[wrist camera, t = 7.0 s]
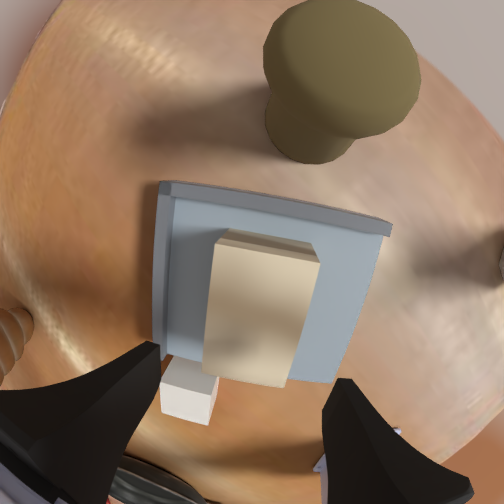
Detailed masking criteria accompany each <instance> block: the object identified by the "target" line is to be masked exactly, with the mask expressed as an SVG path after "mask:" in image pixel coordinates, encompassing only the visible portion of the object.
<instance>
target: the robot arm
mask: <svg viewBox="0 0 504 504" xmlns="http://www.w3.org/2000/svg"><path fill="white" fill-rule="evenodd" d="M160 382H161V357H160V345H159V344H156V343H153V342H149V341H145V342H144V343H142V344H140V345H138V346H137V347H135V348H133V349H132V350H130V351H128V352H127V353H125V354H123V355H122V356H120V357H118V358H116V359H115V360H113V361H111V362H109V363H107V364H105V365H103V366H101V367H99V368H97V369H95V370H93V371H91V372H89V373H87V374H84V375H82V376H79V377H77V378H74V379H71V380H68V381H65V382H61V383H57V384H53V385H49V386H45V387H39V388H33V389H24V390H0V504H106V502H107V499H108V495H109V492H110V488H111V485H112V482H113V479H114V476H115V474H116V471H117V468H118V466H119V463H120V461H121V458H122V456H123V453H124V451H125V449H126V446H127V444H128V442H129V440H130V438H131V436H132V435H133V433H134V431H135V430H136V428H137V426H138V425H139V423H140V421H141V419H142V418H143V416H144V414H145V413H146V411H147V409H148V408H149V406H150V404H151V403H152V401H153V399H154V397H155V394H156V392H157V390H158V387H159V385H160ZM400 433H401V429H400V428H397V429H393V428H392V427H391V426H390V425H389V424H388V423H387V422H386V421H385V420H384V419H383V418H382V416H381V415H380V414H379V413H378V412H377V410H376V409H375V408H374V407H373V406H372V404H371V403H370V402H369V400H368V399H367V398H366V397H365V395H364V394H363V393H362V391H361V390H360V389H359V388H358V386H357V385H356V384H355V382H354V381H353V380H352V379H346V378H338V379H337V381H336V383H335V385H334V387H333V389H332V391H331V393H330V395H329V398H328V400H327V402H326V404H325V406H324V408H323V409H322V435H323V442H324V450H325V453H324V454H323V456H322V457H321V458H320V460H319V461H318V462H317V464H316V465H315V466H314V468H313V471H314V472H320V478H321V496H322V504H465V503H466V502H467V501H469V500H470V499H471V498H472V497H473V495H474V491H473V488H472V486H471V483H470V480H469V478H468V477H465V476H463V475H461V474H458V473H456V472H453V471H451V470H449V469H447V468H445V467H443V466H441V465H439V464H437V463H435V462H434V461H432V460H431V459H429V458H427V457H426V456H425V455H423V454H422V453H420V452H419V451H417V450H416V449H415V448H414V447H412V446H411V445H410V444H409V443H408V442H406V441H405V440H404V439H403V438H402V437H401V436H400V435H399V434H400Z"/></svg>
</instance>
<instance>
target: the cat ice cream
mask: <svg viewBox="0 0 504 504" xmlns="http://www.w3.org/2000/svg"><path fill="white" fill-rule="evenodd" d="M33 330H34V325H33V320H32V317H31V316H30V314H29V313H28V312H27V311H25V310H24V309H21V308H12V309H10V310H8V311H7V310H4V309H1V308H0V386H1V384H2V382H3V379H4V376H5V375H6V374H8V373H9V372H10V371H11V370H12V368H13V366H14V364H15V361H17V360H19V359H20V358H21V356H22V354H23V350H24V345H25V344H26V343H27V342H28V341H29V340H30V338H31V336H32V334H33Z"/></svg>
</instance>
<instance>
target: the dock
mask: <svg viewBox="0 0 504 504" xmlns="http://www.w3.org/2000/svg"><path fill="white" fill-rule="evenodd" d="M392 225H393V224H392V223H389V222H387V221H385V220H383V219H380V218H378V217H374V216H370V215H366V214H361V213H357V212H353V211H349V210H344V209H340V208H335V207H331V206H326V205H322V204H317V203H312V202H307V201H302V200H297V199H292V198H287V197H281V196H276V195H270V194H265V193H259V192H253V191H247V190H241V189H235V188H228V187H222V186H215V185H208V184H201V183H193V182H185V181H177V180H170V181H160V184H159V193H158V202H157V212H156V224H155V237H154V254H153V279H152V336H153V343H156V344H159V345H160V357H161V360H162V361H163V360H164V358H165V356H166V355H167V354H171V355H175V356H178V357H182V358H186V359H190V360H193V361H198V362H202V356H203V345H204V335H205V325H206V315H207V306H208V296H209V288H210V279H211V271H212V263H213V255H214V247H215V243H216V242H217V241H218V240H219V239H220V238H221V237H222V236H223V235H224V234H225V232H226V231H227V230H228V229H229V228H233V229H239V230H244V231H250V232H255V233H261V234H266V235H271V236H277V237H282V238H287V239H293V240H298V241H303V242H308V243H311V244H312V246H313V248H314V250H315V252H316V255H317V257H318V259H319V261H320V263H321V264H320V268H319V272H318V276H317V279H316V283H315V287H314V291H313V295H312V298H311V302H310V306H309V309H308V313H307V316H306V320H305V323H304V326H303V330H302V333H301V336H300V340H299V343H298V346H297V349H296V353H295V356H294V359H293V362H292V365H291V368H290V371H289V374H288V377H287V379H294V380H302V381H311V382H321V383H332V381H333V379H334V377H335V375H336V372H337V370H338V368H339V366H340V363H341V361H342V359H343V356H344V354H345V351H346V349H347V346H348V344H349V341H350V339H351V336H352V334H353V331H354V328H355V326H356V323H357V320H358V317H359V315H360V312H361V309H362V306H363V303H364V300H365V297H366V294H367V291H368V288H369V285H370V282H371V278H372V275H373V272H374V268H375V265H376V261H377V258H378V254H379V250H380V247H381V243H382V239H383V236H387V237H390V234H391V230H392Z"/></svg>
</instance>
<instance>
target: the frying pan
mask: <svg viewBox="0 0 504 504" xmlns="http://www.w3.org/2000/svg"><path fill="white" fill-rule="evenodd" d="M109 495H110V496H112V497H113V498H115V499H117V500H119V501H121V502H123V503H124V504H210V503H207V502H206V501H205V500H204V498H203V497H202V496H201V495H200V494H199V493H198V492H197V491H196V490H195V489H193V488H192V487H191V486H189V485H188V484H186V483H185V482H183V481H182V480H180V479H178V478H176V477H174V476H173V475H171V474H169V473H167V472H165V471H163V470H160V469H158V468H156V467H154V466H152V465H149V464H147V463H144V462H142V461H139V460H136V459H134V458H131V457H128V456H124V455H123V456H122V458H121V461H120V463H119V466H118V468H117V471H116V474H115V476H114V479H113V482H112V485H111V488H110V492H109Z"/></svg>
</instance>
